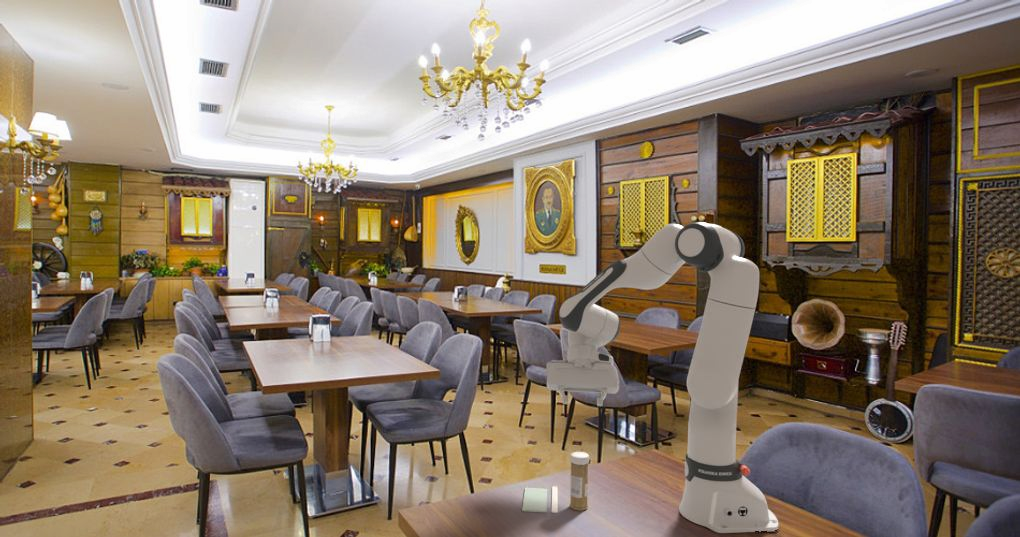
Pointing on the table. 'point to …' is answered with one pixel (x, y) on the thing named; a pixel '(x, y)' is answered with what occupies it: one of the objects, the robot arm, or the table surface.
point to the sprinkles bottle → (579, 480)
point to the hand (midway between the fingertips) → (582, 404)
